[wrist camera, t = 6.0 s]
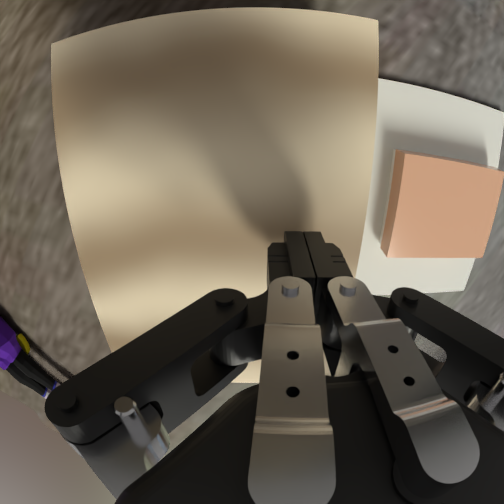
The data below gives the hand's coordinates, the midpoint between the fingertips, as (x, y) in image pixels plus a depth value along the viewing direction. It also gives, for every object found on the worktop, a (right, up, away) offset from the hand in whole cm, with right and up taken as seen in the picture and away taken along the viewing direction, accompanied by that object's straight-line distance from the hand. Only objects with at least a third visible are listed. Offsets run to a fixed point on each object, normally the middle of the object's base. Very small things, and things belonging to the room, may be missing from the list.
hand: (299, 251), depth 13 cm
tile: (+11, +3, +5) cm, 13 cm away
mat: (+11, +4, +7) cm, 13 cm away
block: (-4, +4, +7) cm, 9 cm away
